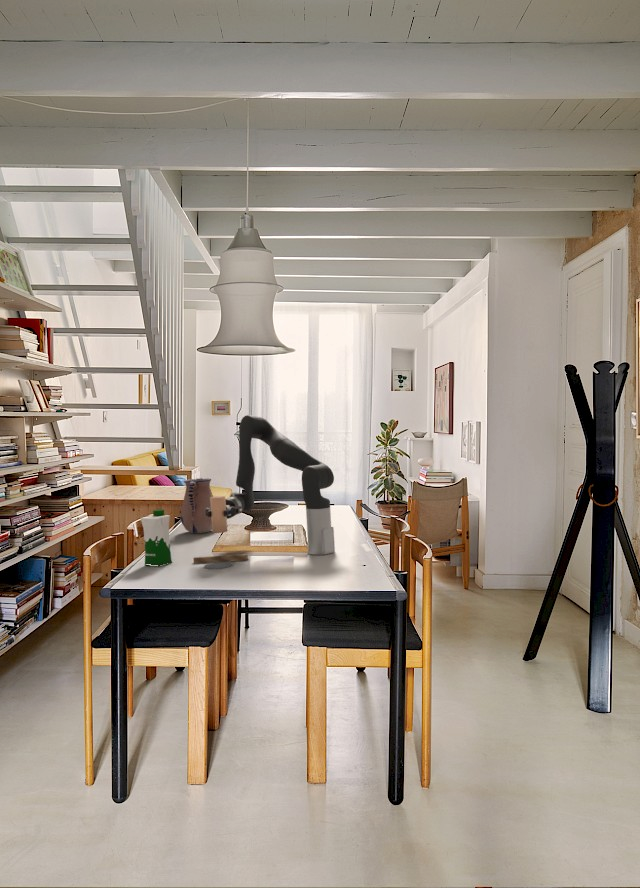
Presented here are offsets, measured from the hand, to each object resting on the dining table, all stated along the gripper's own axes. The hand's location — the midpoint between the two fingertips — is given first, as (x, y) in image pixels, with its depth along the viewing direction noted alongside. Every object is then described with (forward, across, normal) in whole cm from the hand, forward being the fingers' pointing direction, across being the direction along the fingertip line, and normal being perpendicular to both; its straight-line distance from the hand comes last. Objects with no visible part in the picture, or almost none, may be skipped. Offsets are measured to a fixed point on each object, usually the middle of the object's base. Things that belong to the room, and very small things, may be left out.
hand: (216, 514), depth 266 cm
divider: (-1, 0, +18) cm, 18 cm away
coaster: (+7, +2, +18) cm, 19 cm away
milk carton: (+2, -23, +18) cm, 29 cm away
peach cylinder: (-3, 0, +7) cm, 7 cm away
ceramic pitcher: (-66, -31, +18) cm, 75 cm away
